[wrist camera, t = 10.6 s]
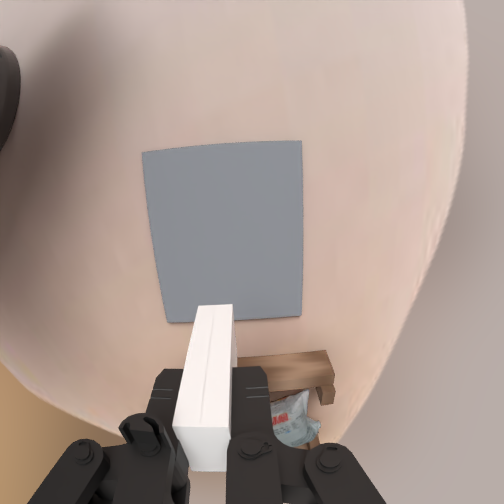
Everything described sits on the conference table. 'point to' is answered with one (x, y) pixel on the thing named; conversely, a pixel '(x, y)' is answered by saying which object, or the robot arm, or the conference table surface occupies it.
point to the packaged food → (293, 420)
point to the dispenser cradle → (297, 376)
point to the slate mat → (227, 227)
